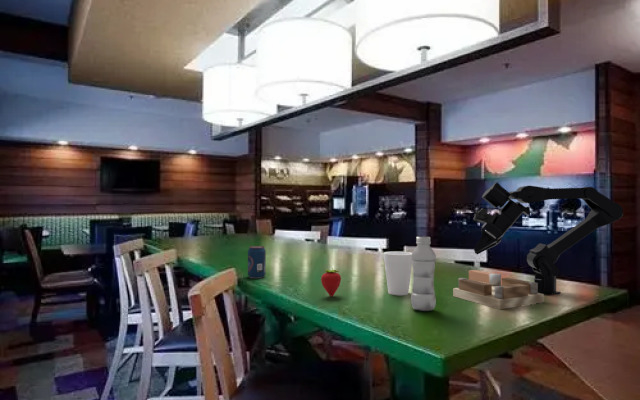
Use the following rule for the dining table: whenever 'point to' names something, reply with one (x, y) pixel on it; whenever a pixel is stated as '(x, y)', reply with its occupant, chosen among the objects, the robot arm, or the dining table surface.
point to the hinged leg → (485, 277)
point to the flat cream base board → (499, 293)
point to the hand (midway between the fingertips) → (475, 252)
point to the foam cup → (398, 272)
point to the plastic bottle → (423, 275)
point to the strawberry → (331, 281)
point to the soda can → (256, 262)
